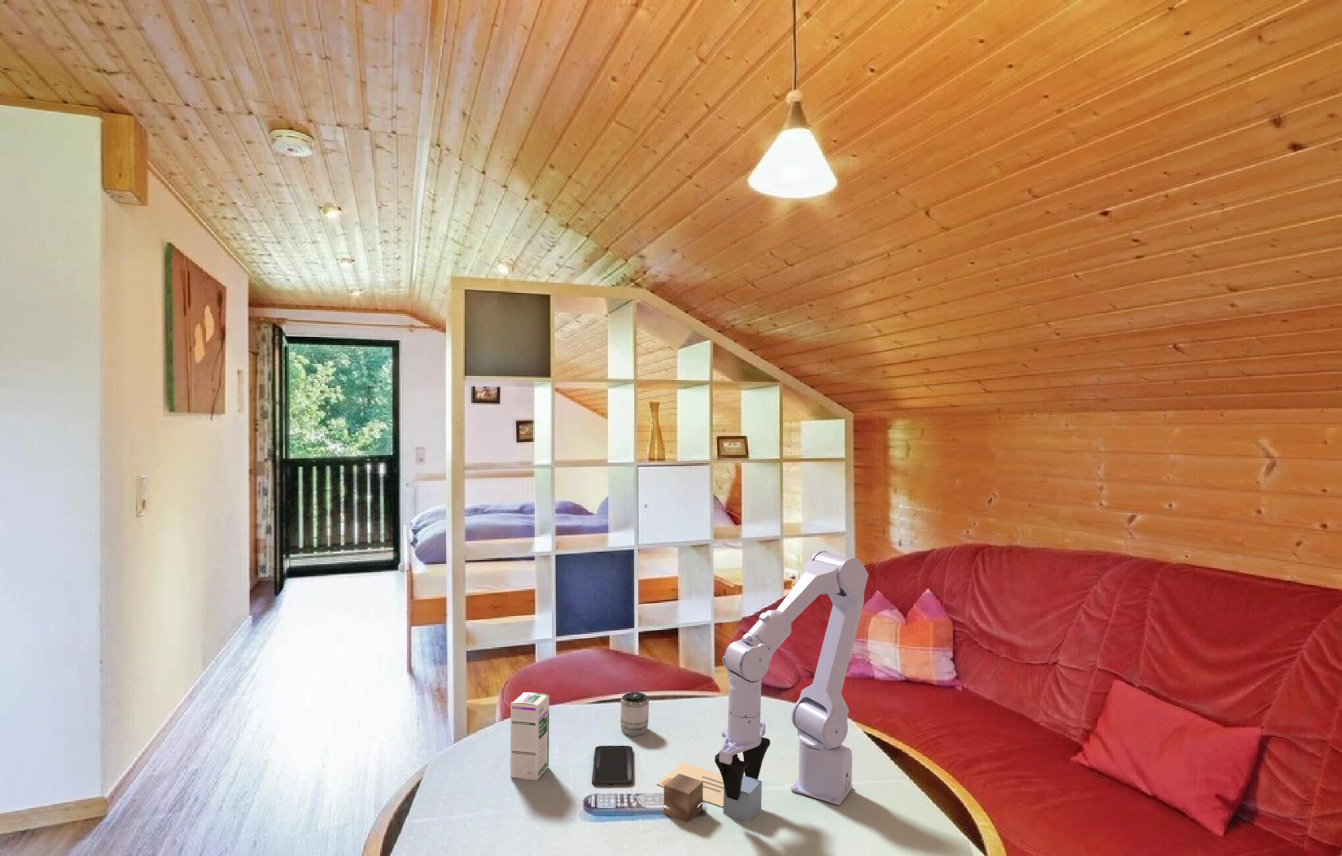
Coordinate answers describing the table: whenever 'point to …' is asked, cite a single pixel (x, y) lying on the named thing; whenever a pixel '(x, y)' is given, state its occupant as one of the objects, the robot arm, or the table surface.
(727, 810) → the cube
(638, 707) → the camera lens
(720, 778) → the envelope
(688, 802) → the walnut block
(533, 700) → the syrup box
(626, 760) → the phone
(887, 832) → the table surface
